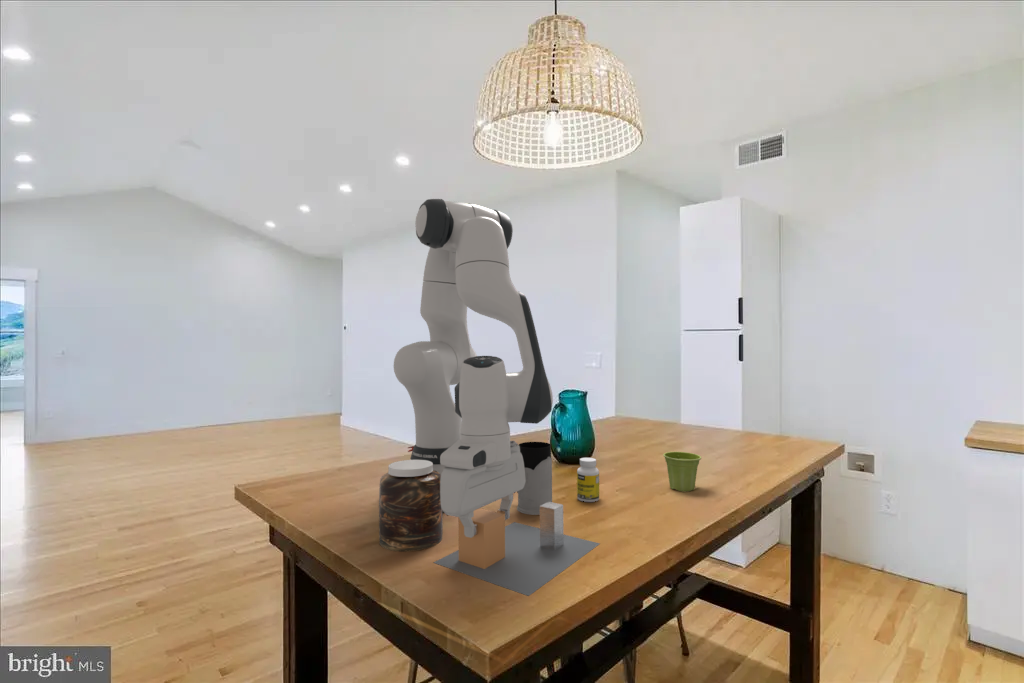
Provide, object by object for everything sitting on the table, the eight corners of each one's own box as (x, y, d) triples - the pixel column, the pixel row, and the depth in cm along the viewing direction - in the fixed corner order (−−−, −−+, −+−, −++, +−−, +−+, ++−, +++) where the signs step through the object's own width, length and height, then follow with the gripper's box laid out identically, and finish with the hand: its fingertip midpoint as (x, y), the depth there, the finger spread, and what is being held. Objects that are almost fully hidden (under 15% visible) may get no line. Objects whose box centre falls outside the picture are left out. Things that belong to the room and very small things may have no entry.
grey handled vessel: (540, 519, 109) (539, 450, 109) (490, 507, 118) (489, 443, 118) (561, 508, 116) (560, 443, 116) (512, 497, 125) (512, 437, 125)
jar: (415, 525, 106) (415, 454, 106) (454, 539, 98) (453, 462, 99) (367, 543, 97) (367, 465, 97) (406, 559, 89) (405, 475, 89)
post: (539, 546, 94) (539, 506, 94) (549, 540, 96) (548, 501, 96) (554, 550, 92) (554, 509, 92) (563, 544, 94) (563, 504, 94)
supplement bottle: (573, 500, 122) (573, 460, 122) (581, 494, 127) (581, 455, 127) (595, 504, 119) (595, 462, 119) (602, 497, 124) (602, 458, 124)
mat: (433, 564, 87) (433, 562, 87) (514, 523, 106) (514, 522, 106) (528, 598, 75) (528, 595, 75) (600, 545, 95) (600, 543, 95)
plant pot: (696, 483, 135) (695, 451, 135) (706, 494, 126) (705, 459, 126) (660, 483, 136) (660, 451, 136) (667, 493, 127) (667, 459, 127)
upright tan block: (458, 560, 88) (458, 517, 88) (480, 549, 92) (479, 508, 92) (484, 569, 84) (484, 523, 84) (505, 557, 89) (504, 514, 89)
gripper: (505, 437, 99) (507, 508, 99) (432, 457, 82) (435, 542, 82) (532, 439, 95) (534, 513, 95) (462, 461, 78) (465, 550, 78)
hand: (488, 527), depth 88 cm, fingers open, 8 cm apart
